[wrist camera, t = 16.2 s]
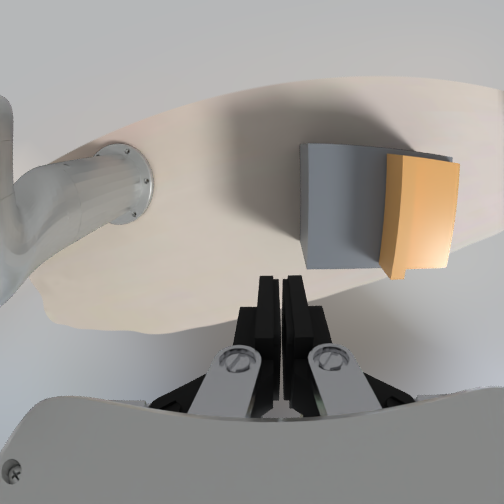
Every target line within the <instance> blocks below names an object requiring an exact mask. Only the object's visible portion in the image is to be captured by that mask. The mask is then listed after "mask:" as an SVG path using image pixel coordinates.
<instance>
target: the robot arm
mask: <svg viewBox="0 0 504 504" xmlns="http://www.w3.org/2000/svg"><path fill="white" fill-rule="evenodd" d="M129 150H130V152H129ZM148 180H149V182H148ZM153 189H154V179H153V174H152V169H151V167H150V165H149V162H148V161H147V159H146V158H145V156H144V155H143V154H142V153H141V152H140V151H139V150H137V149H136V148H134V147H133V146H130V145H127V144H112V145H108V146H106V147H104V148H102V149H101V150H99V151H98V152H97V153H96V154H95V155H94V156H93V157H88V158H82V159H76V160H70V161H64V162H59V163H54V164H48V165H44V166H39V167H36V168H34V169H32V170H30V171H28V172H27V173H25V174H24V175H23V176H21V177H20V178H19V179H18V180H17V181H16V182H15V183H14V184H13V113H12V107H11V105H10V103H9V101H8V100H7V99H6V98H5V97H3V96H1V95H0V307H1V306H2V305H3V304H4V303H6V302H7V301H8V300H9V299H10V298H11V297H12V296H13V294H14V293H15V292H16V291H17V290H18V289H19V287H20V286H21V285H22V284H23V283H24V281H25V280H26V279H27V278H28V277H29V276H30V275H31V273H32V272H33V271H34V270H36V269H37V268H38V267H39V266H40V265H41V264H42V263H44V262H45V261H46V260H48V259H49V258H50V257H52V256H53V255H55V254H56V253H58V252H59V251H61V250H63V249H64V248H66V247H68V246H69V245H71V244H73V243H74V242H76V241H78V240H79V239H81V238H83V237H84V236H86V235H88V234H90V233H91V232H93V231H95V230H97V229H98V228H100V227H102V226H104V225H106V224H107V223H111V224H115V225H123V224H128V223H130V222H132V221H134V220H136V219H138V218H139V217H140V216H141V215H142V214H143V213H144V212H145V211H146V209H147V208H148V206H149V204H150V202H151V199H152V195H153ZM135 212H136V213H135ZM282 357H283V358H282V359H283V393H284V400H289V405H290V408H293V409H295V410H296V411H297V412H299V413H300V418H263V415H264V414H265V413H266V412H268V411H269V410H270V409H272V408H273V400H279V387H280V360H281V359H280V358H281V325H280V300H279V279H273V276H260V280H259V291H258V303H257V307H240V310H239V316H238V321H237V326H236V332H235V337H234V343H233V346H229V347H226V348H224V349H222V350H221V351H219V352H218V353H217V355H216V356H215V357H214V360H213V362H212V364H211V366H210V368H209V370H208V372H207V373H206V374H204V375H203V376H201V377H199V378H197V379H195V380H193V381H191V382H189V383H187V384H185V385H184V386H182V387H179V388H178V389H175V390H173V391H172V392H170V393H167V394H165V395H163V396H161V397H159V398H157V399H156V400H154V401H153V402H152V403H151V404H146V401H122V400H121V401H120V400H104V399H98V398H91V397H81V396H58V397H52V398H48V399H45V400H42V401H40V402H39V403H37V404H36V405H35V406H34V407H32V409H30V410H29V412H28V413H27V414H26V415H25V416H24V418H23V419H22V420H21V422H20V423H19V424H18V426H17V427H16V428H15V430H14V431H13V433H12V434H11V436H10V437H9V439H8V441H7V442H6V444H5V446H4V447H3V449H2V450H1V452H0V504H504V387H502V386H488V387H478V388H473V389H468V390H463V391H460V392H456V393H451V394H440V395H418V396H417V397H416V399H413V398H412V397H411V396H410V395H408V394H407V393H405V392H403V391H401V390H399V389H396V388H394V387H392V386H390V385H388V384H386V383H384V382H382V381H380V380H378V379H375V378H374V377H372V376H370V375H368V374H366V373H364V372H362V370H361V368H360V366H359V365H358V363H357V361H356V359H355V357H354V355H353V354H352V353H351V351H350V350H349V349H347V348H346V347H344V346H341V345H339V344H333V343H332V341H331V338H330V333H329V330H328V326H327V322H326V319H325V315H324V312H323V308H322V306H308V304H307V299H306V294H305V290H304V285H303V280H302V276H301V275H293V276H288V279H283V292H282Z"/></svg>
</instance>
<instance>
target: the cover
mask: <svg viewBox="0 0 504 504" xmlns="http://www.w3.org/2000/svg"><path fill="white" fill-rule="evenodd" d="M459 170H460V164H458V163H452V162H447V161H441V160H434V159H428V158H420V157H413V156H405V155H396V154H387V173H386V195H385V210H384V222H383V232H382V241H381V249H380V257H379V265H380V266H381V268H382V269H383V270H384V272H385V273H386V274H387V276H388V277H389V278H390V279H391V280H394V279H404V275H405V270H406V269H423V268H424V269H425V268H446V266H447V261H448V257H449V252H450V246H451V241H452V235H453V229H454V222H455V215H456V207H457V197H458V186H459Z"/></svg>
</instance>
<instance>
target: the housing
mask: <svg viewBox="0 0 504 504" xmlns="http://www.w3.org/2000/svg"><path fill="white" fill-rule="evenodd" d="M387 154H396V155H405V156H413V157H420V158H428V159H434V160H441V161H447V162H452V157H447V156H441V155H436V154H429V153H423V152H416V151H408V150H400V149H391V148H382V147H371V146H358V145H342V144H317V143H307V144H300V190H301V207H300V243H301V247H302V251H303V255H304V259H305V264H306V268H307V269H355V268H381V266H380V265H379V257H380V249H381V241H382V232H383V222H384V210H385V195H386V173H387Z"/></svg>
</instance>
